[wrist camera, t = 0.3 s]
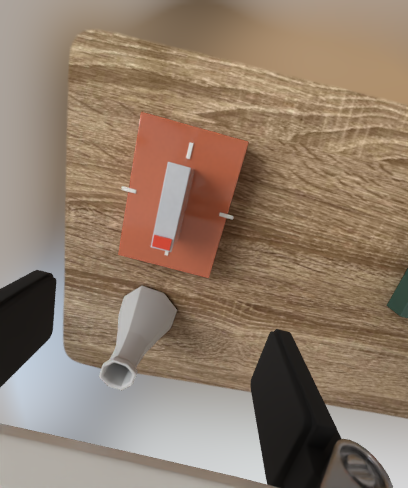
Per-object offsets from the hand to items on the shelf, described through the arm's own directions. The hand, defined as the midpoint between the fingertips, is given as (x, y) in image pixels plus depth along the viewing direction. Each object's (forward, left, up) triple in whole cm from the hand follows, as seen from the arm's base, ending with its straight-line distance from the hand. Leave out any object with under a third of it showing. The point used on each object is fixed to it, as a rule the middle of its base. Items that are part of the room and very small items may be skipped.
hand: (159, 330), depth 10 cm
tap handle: (-3, -2, -15) cm, 15 cm away
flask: (+12, -3, -18) cm, 22 cm away
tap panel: (-3, -2, -18) cm, 18 cm away
